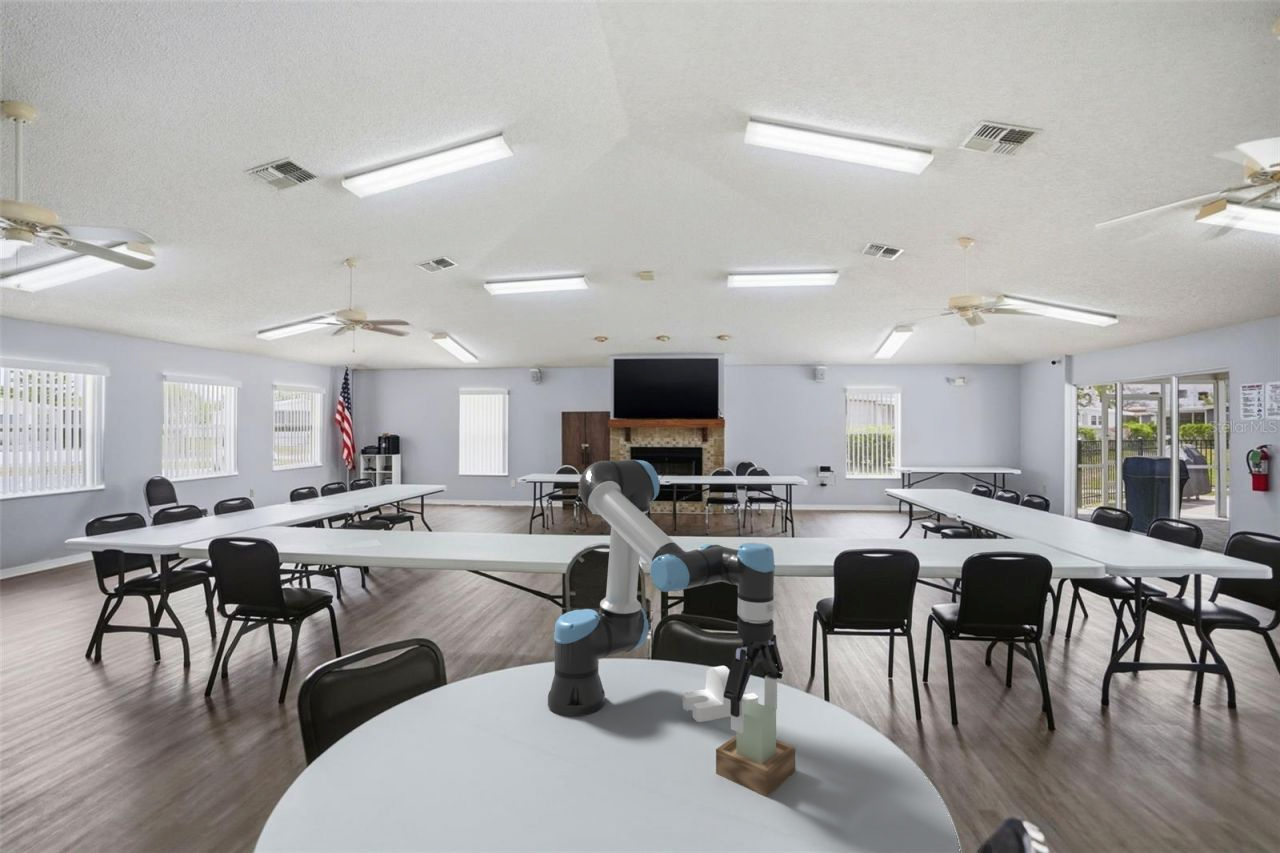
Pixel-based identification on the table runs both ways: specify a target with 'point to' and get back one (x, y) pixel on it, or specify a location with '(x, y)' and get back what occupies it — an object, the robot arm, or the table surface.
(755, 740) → the green block
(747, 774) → the brown crate
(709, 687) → the white slotted block
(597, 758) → the table surface
